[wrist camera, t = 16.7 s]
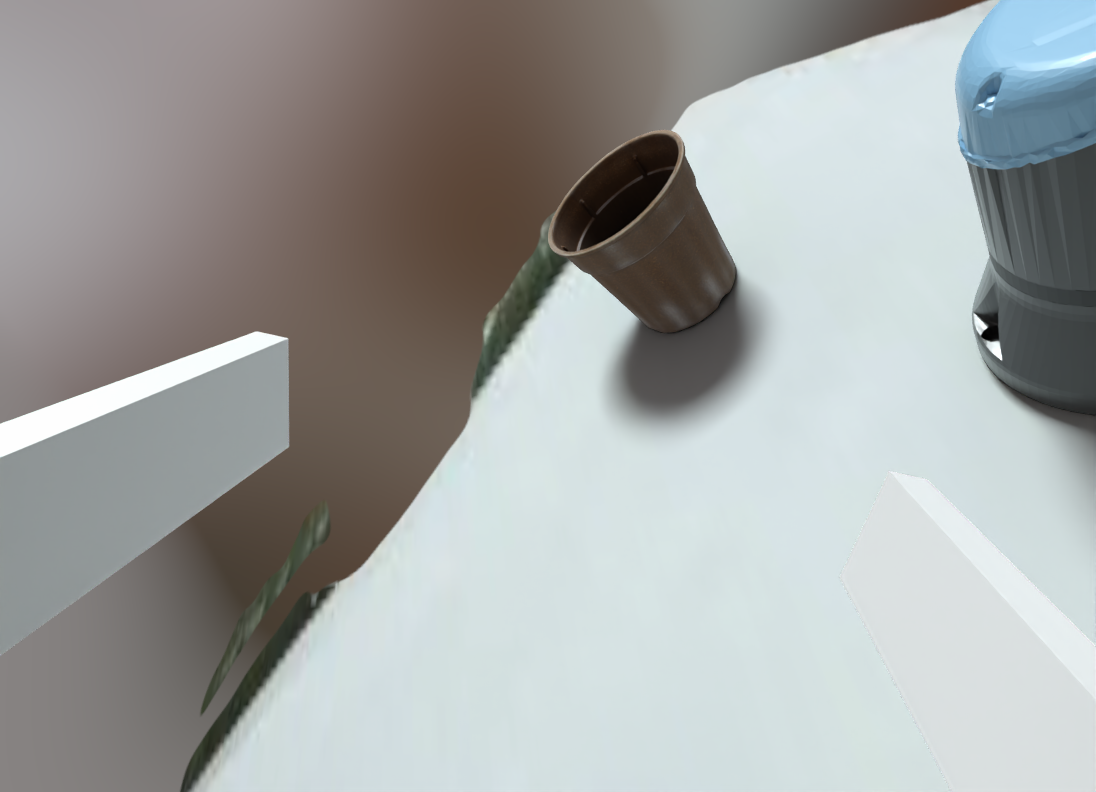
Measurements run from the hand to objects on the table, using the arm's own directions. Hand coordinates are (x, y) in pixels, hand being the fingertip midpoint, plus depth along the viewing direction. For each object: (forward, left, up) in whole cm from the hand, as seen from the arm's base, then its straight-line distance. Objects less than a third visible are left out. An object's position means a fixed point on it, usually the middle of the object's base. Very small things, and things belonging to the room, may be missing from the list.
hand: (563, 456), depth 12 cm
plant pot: (-24, -38, -34) cm, 56 cm away
